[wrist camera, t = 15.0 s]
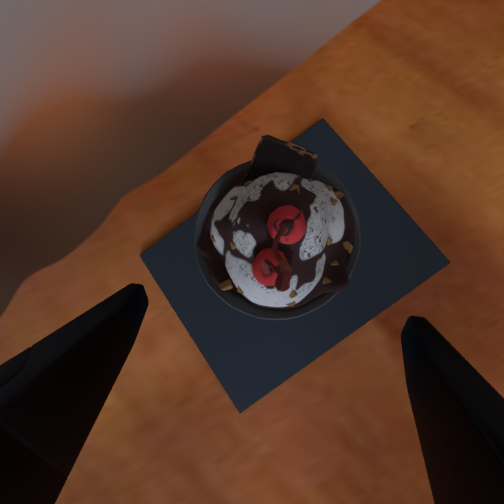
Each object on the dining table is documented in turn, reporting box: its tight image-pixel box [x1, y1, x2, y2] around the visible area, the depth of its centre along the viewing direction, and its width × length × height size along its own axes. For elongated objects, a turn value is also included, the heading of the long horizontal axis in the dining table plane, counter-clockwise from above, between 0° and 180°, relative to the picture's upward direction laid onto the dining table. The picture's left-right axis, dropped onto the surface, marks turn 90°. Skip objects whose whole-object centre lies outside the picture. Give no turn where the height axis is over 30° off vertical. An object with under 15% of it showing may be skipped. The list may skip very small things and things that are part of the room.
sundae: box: [194, 135, 361, 320], centre depth 14 cm, size 7×7×15 cm
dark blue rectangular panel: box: [140, 119, 450, 413], centre depth 21 cm, size 14×18×1 cm
